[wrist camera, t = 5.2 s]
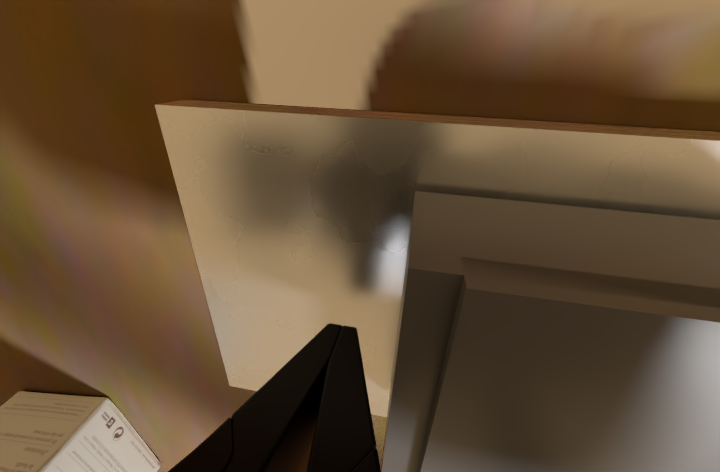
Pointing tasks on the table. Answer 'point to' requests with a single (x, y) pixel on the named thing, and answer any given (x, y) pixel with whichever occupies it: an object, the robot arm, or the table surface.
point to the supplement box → (69, 436)
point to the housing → (555, 340)
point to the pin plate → (380, 208)
